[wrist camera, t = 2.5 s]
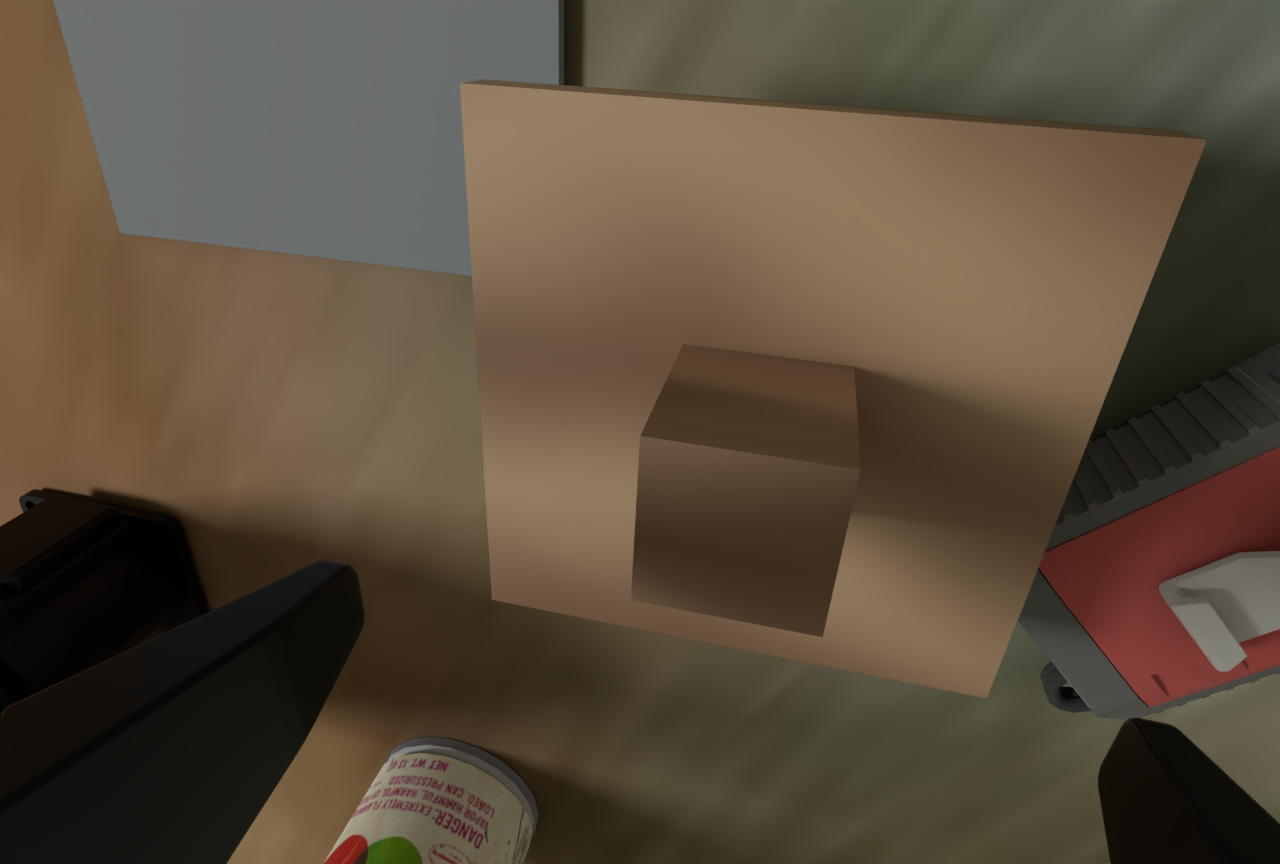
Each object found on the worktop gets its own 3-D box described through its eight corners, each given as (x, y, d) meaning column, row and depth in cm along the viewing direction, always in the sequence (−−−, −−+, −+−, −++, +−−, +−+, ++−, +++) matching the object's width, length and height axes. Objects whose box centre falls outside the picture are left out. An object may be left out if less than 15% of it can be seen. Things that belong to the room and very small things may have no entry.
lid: (978, 663, 16) (1022, 858, 13) (507, 572, 18) (421, 718, 14) (1178, 130, 11) (1361, 187, 7) (484, 79, 13) (337, 102, 9)
